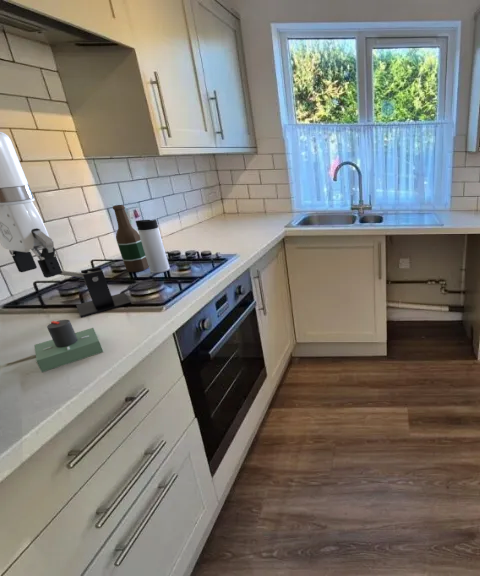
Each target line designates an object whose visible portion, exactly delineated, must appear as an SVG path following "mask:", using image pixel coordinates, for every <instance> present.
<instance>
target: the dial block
mask: <svg viewBox="0 0 480 576" xmlns="http://www.w3.org/2000/svg"><path fill="white" fill-rule="evenodd" d="M75 334H76V336H77V339H78V340H77V341H76V342H75V343H74V344H71V345H69V346H65V347H56V346H55V344H54V341H53V339H49V340H47V341H43V342H39V343H35V344H34V352H35V353H34V354H35V360H36V363H37V365H38V367H39V370H40V371H41V373H44V372H47V371H50V370H53V369H56V368H59V367H62V366H66V365H68V364H71V363H73V362H77V361H80V360H83V359H86V358H90V357H92V356H94V355H98V354H102V353H104V350H103V347H102V345H101V342H100V339H99V337H98V335H97V332H96V331H95V328H94V327H91V328H87V329H84V330H80V331H77V332H75Z"/></svg>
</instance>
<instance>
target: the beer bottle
mask: <svg viewBox="0 0 480 576" xmlns="http://www.w3.org/2000/svg"><path fill="white" fill-rule="evenodd" d="M112 210H113V211H114V214H115V215H114V216H115V219H116V223H117V231H116V232H115V239H116V243H117V246H118V250H119V252H120V255H121V258H122V262H123V265H124V268H125V269H126V271H127V272H128V273H138V272H142V271H145V270H147V269H150V268H149V265H148V262H147V259H146V255H145V252H144V249H143V245H142V242H141V239H140V235H139V231H138V230H136V229H135V228H134V227H133V226H132V224H131V222H130V219H129V217H128V214H127V211H126V206H125V205H123V204H116V205H112Z"/></svg>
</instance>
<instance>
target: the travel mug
mask: <svg viewBox="0 0 480 576" xmlns="http://www.w3.org/2000/svg"><path fill="white" fill-rule="evenodd" d="M135 225H136V227H137V232H138V234H139V235H140V239H141V242H142V245H143V249H144V252H145V255H146V259H147V262H148V265H149V268H148V269H149V272H150V274H162V273H165V272H167V271H170V269H171V266H170V264H169V260H168V257H167V252H166V249H165V246H164V242H163V239H162V235H161V232H160V231H161V230H160V229H159V228H160V227H159V225H158V222H157V219H140V220H139V219H138V220H135Z"/></svg>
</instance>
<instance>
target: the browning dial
mask: <svg viewBox="0 0 480 576" xmlns="http://www.w3.org/2000/svg"><path fill="white" fill-rule="evenodd" d="M46 328H47V330H48V333H49V335H50V337H51V340H53V341H54V344H55V346H56V347H65V346H69V345H71V344H74V343H75V342H76V341H77V340H78V339H77V336H76V334H75V333H76V332H75V330H74V327H73V325H72V321H71V320H70V319H60V320H52V321H50V323H49V324H48V325H47V326H46Z"/></svg>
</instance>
